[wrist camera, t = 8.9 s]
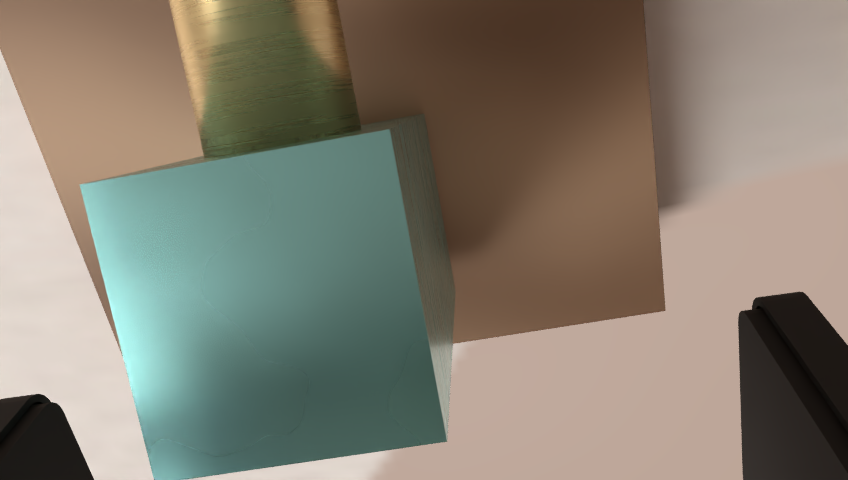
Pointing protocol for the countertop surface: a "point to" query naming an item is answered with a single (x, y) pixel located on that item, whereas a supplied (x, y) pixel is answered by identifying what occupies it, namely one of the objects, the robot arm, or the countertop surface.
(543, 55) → the walnut board
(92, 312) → the countertop surface
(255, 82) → the brass rod with block
